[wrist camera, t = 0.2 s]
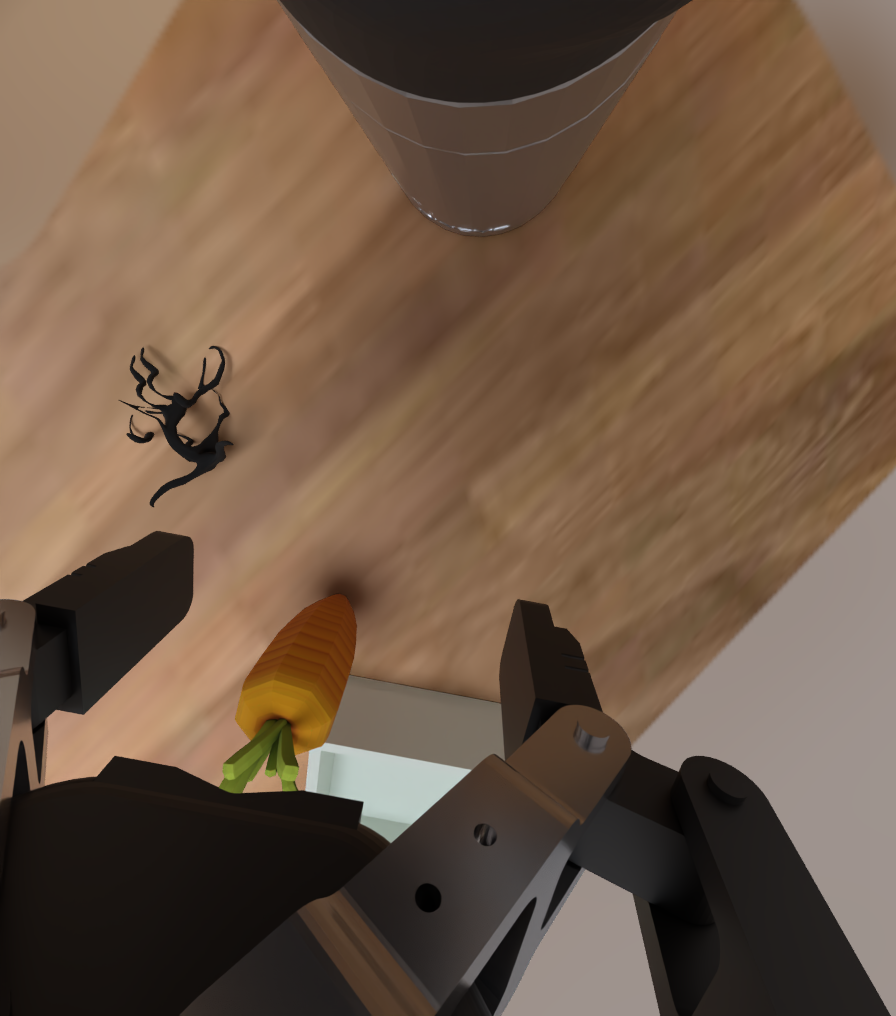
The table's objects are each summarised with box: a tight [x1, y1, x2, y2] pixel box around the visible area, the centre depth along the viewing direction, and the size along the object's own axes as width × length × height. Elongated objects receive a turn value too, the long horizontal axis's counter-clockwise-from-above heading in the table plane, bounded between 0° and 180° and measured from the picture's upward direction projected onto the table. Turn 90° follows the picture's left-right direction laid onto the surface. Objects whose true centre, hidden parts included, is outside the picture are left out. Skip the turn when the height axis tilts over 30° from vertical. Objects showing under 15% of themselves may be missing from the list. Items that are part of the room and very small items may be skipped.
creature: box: [119, 346, 233, 507], centre depth 27 cm, size 8×5×8 cm
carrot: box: [219, 594, 357, 793], centre depth 26 cm, size 5×5×15 cm
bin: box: [305, 675, 505, 843], centre depth 35 cm, size 13×13×6 cm
